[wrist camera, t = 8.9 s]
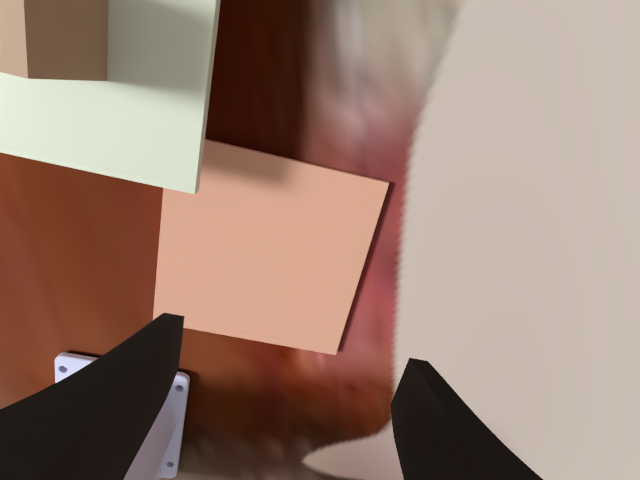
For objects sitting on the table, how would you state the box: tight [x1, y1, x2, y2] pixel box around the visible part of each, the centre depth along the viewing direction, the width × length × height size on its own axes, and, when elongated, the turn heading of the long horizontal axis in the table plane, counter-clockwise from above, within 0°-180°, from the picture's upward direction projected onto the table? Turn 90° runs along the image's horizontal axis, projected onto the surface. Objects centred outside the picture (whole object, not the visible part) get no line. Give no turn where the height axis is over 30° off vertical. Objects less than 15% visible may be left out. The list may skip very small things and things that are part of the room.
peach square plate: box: [153, 139, 389, 355], centre depth 20 cm, size 11×11×1 cm
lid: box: [0, 0, 221, 194], centre depth 11 cm, size 10×10×5 cm
